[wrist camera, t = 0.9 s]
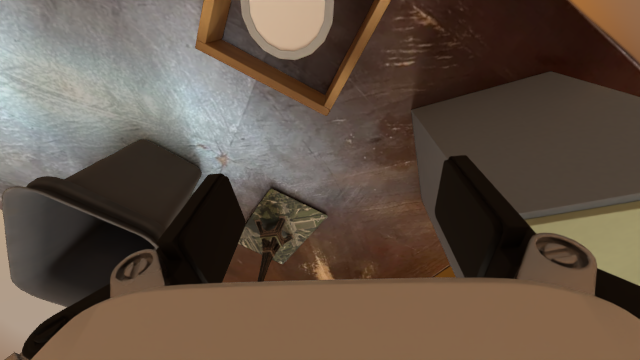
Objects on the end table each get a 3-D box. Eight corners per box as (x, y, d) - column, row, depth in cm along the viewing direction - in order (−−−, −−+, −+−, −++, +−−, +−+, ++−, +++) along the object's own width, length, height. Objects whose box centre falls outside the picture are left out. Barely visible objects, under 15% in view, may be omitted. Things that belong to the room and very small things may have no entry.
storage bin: (182, 245, 45) (127, 329, 33) (89, 205, 40) (-12, 287, 29) (227, 165, 34) (171, 247, 23) (108, 99, 30) (-39, 159, 18)
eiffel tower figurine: (283, 262, 46) (267, 342, 35) (232, 241, 43) (198, 319, 32) (328, 214, 38) (324, 296, 28) (269, 184, 36) (240, 262, 25)
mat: (823, 169, 11) (842, 175, 11) (684, 314, 18) (692, 322, 17) (500, 223, 14) (505, 229, 13) (488, 330, 21) (491, 337, 20)
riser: (550, 71, 25) (848, 157, 11) (531, 178, 33) (690, 317, 18) (411, 109, 28) (491, 218, 14) (421, 200, 36) (481, 334, 21)
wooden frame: (253, -141, 18) (235, -173, 15) (401, -33, 21) (413, -41, 18) (212, 43, 26) (194, 48, 22) (327, 104, 29) (326, 116, 25)
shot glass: (272, 53, 26) (254, 65, 20) (254, -32, 22) (225, -47, 16) (337, 43, 25) (338, 54, 19) (330, -47, 21) (328, -67, 15)
